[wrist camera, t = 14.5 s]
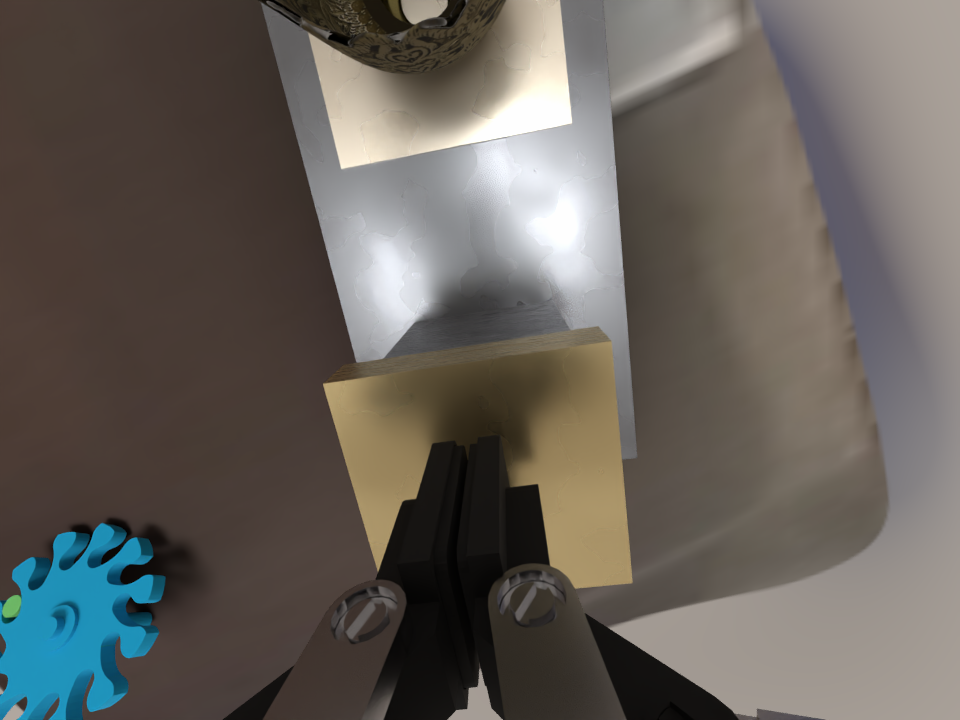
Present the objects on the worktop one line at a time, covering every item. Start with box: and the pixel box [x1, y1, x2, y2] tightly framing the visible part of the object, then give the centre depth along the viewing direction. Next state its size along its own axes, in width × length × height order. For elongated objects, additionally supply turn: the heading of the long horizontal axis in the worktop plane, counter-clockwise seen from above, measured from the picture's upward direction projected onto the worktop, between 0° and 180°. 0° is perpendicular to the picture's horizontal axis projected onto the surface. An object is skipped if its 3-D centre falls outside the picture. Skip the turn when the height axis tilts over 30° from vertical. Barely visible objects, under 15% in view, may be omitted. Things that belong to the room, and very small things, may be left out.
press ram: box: [323, 326, 632, 588], centre depth 15 cm, size 7×7×8 cm
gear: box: [0, 523, 165, 720], centre depth 25 cm, size 11×6×10 cm
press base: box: [261, 0, 637, 460], centre depth 15 cm, size 26×12×8 cm, turn 10°
